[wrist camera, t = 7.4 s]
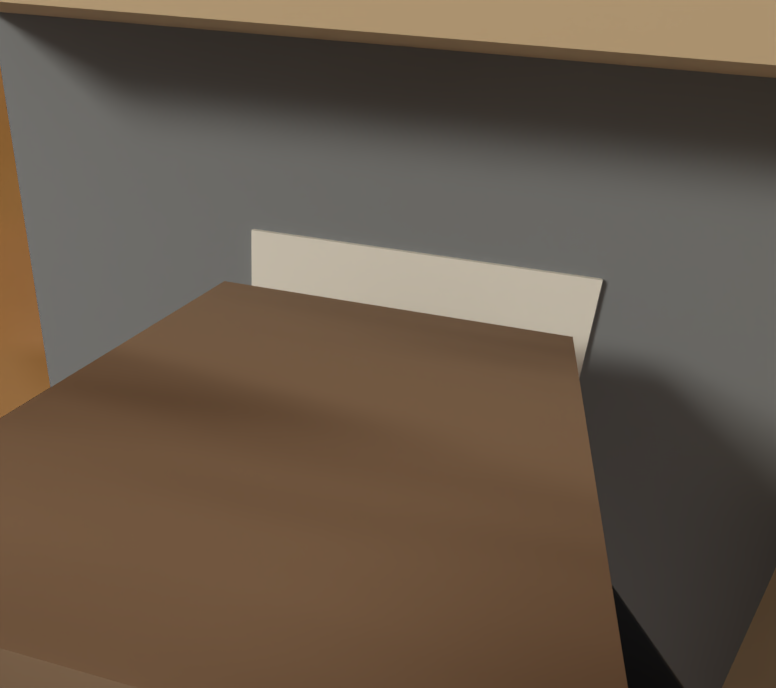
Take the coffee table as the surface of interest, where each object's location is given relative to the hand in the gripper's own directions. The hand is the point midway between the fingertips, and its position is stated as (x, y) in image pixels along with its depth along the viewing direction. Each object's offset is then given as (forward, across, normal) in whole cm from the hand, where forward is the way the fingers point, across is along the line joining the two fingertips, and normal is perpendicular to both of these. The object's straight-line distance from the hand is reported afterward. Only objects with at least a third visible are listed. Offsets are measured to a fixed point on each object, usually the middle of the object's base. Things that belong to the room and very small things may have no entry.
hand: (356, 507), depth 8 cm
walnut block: (+1, 0, 0) cm, 1 cm away
